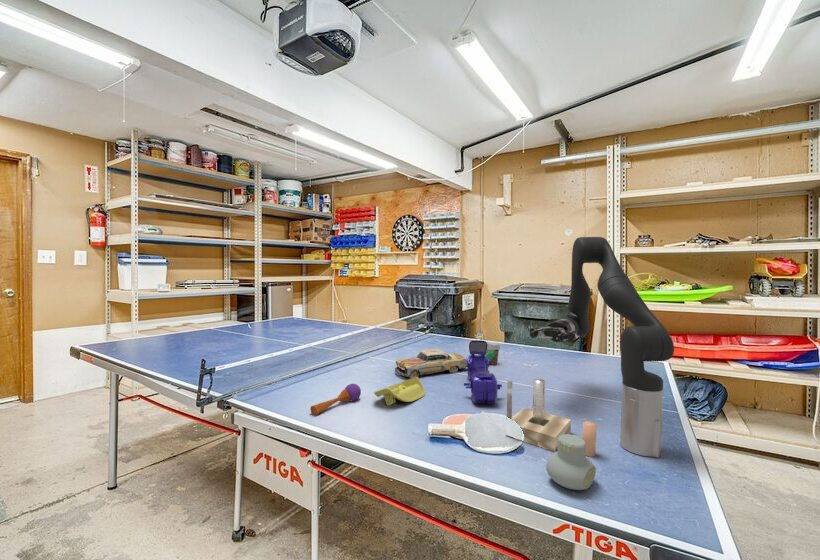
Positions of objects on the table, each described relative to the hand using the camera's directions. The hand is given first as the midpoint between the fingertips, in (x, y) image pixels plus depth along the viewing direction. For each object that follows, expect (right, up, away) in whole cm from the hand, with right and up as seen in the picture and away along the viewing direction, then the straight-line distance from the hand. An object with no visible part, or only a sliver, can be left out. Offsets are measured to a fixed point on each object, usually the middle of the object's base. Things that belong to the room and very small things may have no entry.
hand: (545, 336), depth 118 cm
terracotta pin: (+3, -27, -22) cm, 35 cm away
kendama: (-69, -26, +9) cm, 74 cm away
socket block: (-6, -27, -11) cm, 30 cm away
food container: (-7, -23, +60) cm, 65 cm away
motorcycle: (-16, -25, +25) cm, 39 cm away
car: (-34, -24, +47) cm, 63 cm away
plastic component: (-48, -26, +15) cm, 56 cm away
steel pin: (-6, -27, -11) cm, 30 cm away
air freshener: (-7, -28, -34) cm, 45 cm away
